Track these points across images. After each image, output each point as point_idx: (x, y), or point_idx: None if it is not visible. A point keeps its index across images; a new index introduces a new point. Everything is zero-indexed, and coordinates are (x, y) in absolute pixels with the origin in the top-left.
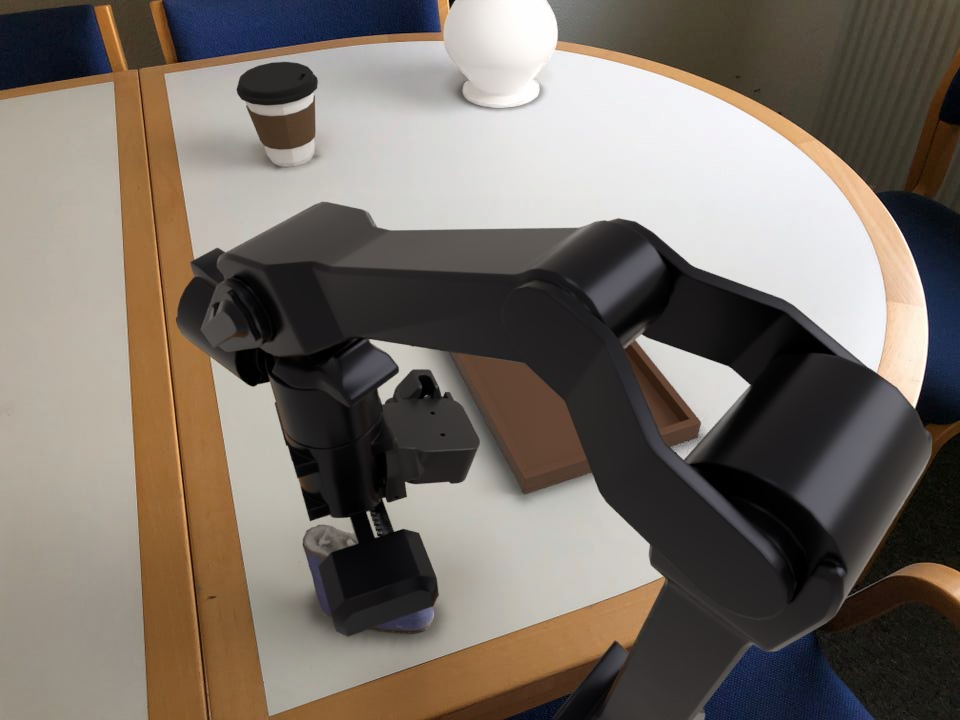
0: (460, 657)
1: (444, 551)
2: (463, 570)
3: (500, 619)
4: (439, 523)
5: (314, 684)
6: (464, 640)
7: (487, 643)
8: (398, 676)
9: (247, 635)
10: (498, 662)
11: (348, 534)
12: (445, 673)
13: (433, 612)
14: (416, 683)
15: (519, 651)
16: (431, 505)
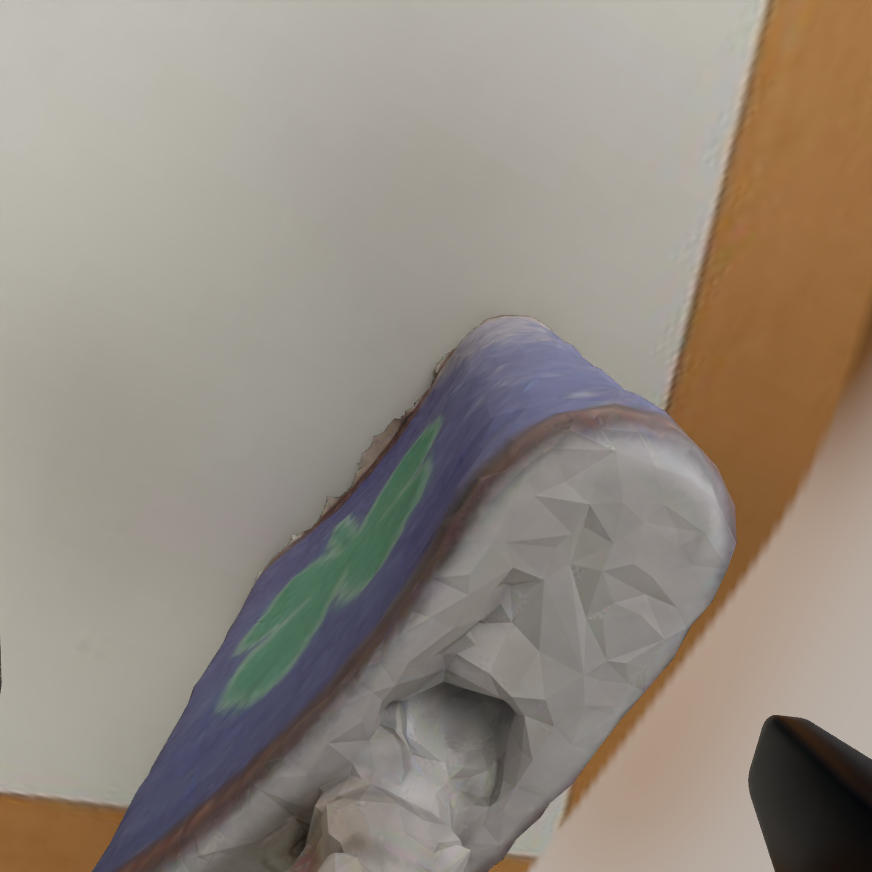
0: (720, 303)
1: (274, 138)
2: (399, 107)
3: (679, 79)
4: (126, 87)
5: None
6: (672, 258)
7: (734, 183)
8: None
9: None
10: (822, 184)
11: (210, 856)
12: (739, 378)
13: (542, 325)
14: None
15: (837, 82)
16: (15, 73)
